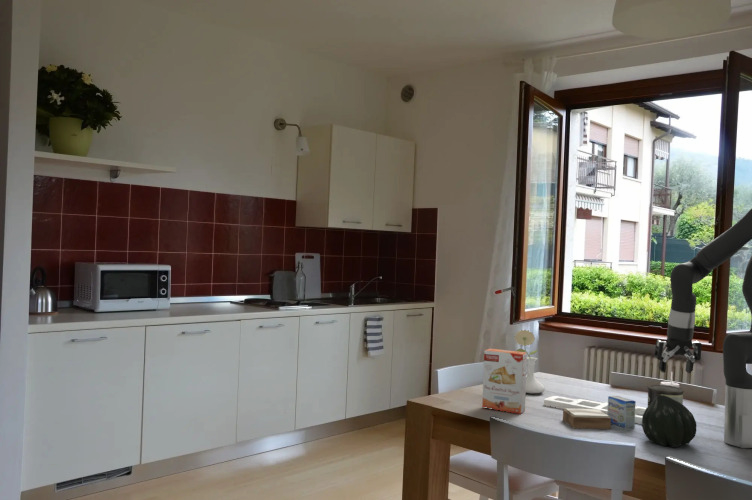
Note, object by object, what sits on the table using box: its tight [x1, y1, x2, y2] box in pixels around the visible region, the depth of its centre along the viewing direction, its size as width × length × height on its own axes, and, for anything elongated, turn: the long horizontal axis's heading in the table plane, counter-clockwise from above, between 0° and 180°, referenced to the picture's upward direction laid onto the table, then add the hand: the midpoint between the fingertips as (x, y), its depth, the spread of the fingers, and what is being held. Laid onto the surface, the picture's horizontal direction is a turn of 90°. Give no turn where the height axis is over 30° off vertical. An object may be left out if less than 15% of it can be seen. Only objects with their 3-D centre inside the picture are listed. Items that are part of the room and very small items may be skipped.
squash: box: [641, 394, 697, 448], centre depth 186 cm, size 14×15×15 cm
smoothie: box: [659, 371, 680, 388], centre depth 230 cm, size 6×6×14 cm
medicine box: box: [607, 395, 636, 429], centre depth 206 cm, size 8×4×9 cm, turn 25°
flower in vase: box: [514, 329, 546, 394], centre depth 253 cm, size 13×11×25 cm
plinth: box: [562, 408, 612, 430], centre depth 205 cm, size 10×12×4 cm
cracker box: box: [481, 347, 528, 415], centre depth 221 cm, size 14×6×21 cm, turn 62°
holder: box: [543, 395, 647, 425], centre depth 223 cm, size 45×18×3 cm, turn 49°
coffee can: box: [647, 384, 684, 407], centre depth 198 cm, size 10×10×14 cm
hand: (675, 372), depth 204 cm, fingers open, 8 cm apart
